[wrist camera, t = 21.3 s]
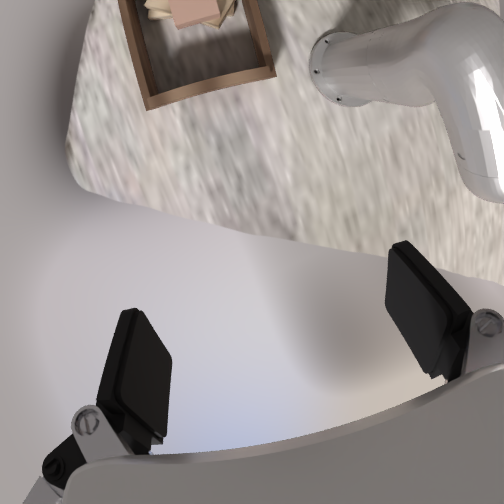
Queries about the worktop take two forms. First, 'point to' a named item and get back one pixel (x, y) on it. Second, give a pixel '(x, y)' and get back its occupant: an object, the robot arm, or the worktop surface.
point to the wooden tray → (158, 100)
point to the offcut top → (193, 12)
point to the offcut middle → (159, 3)
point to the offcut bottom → (159, 15)
